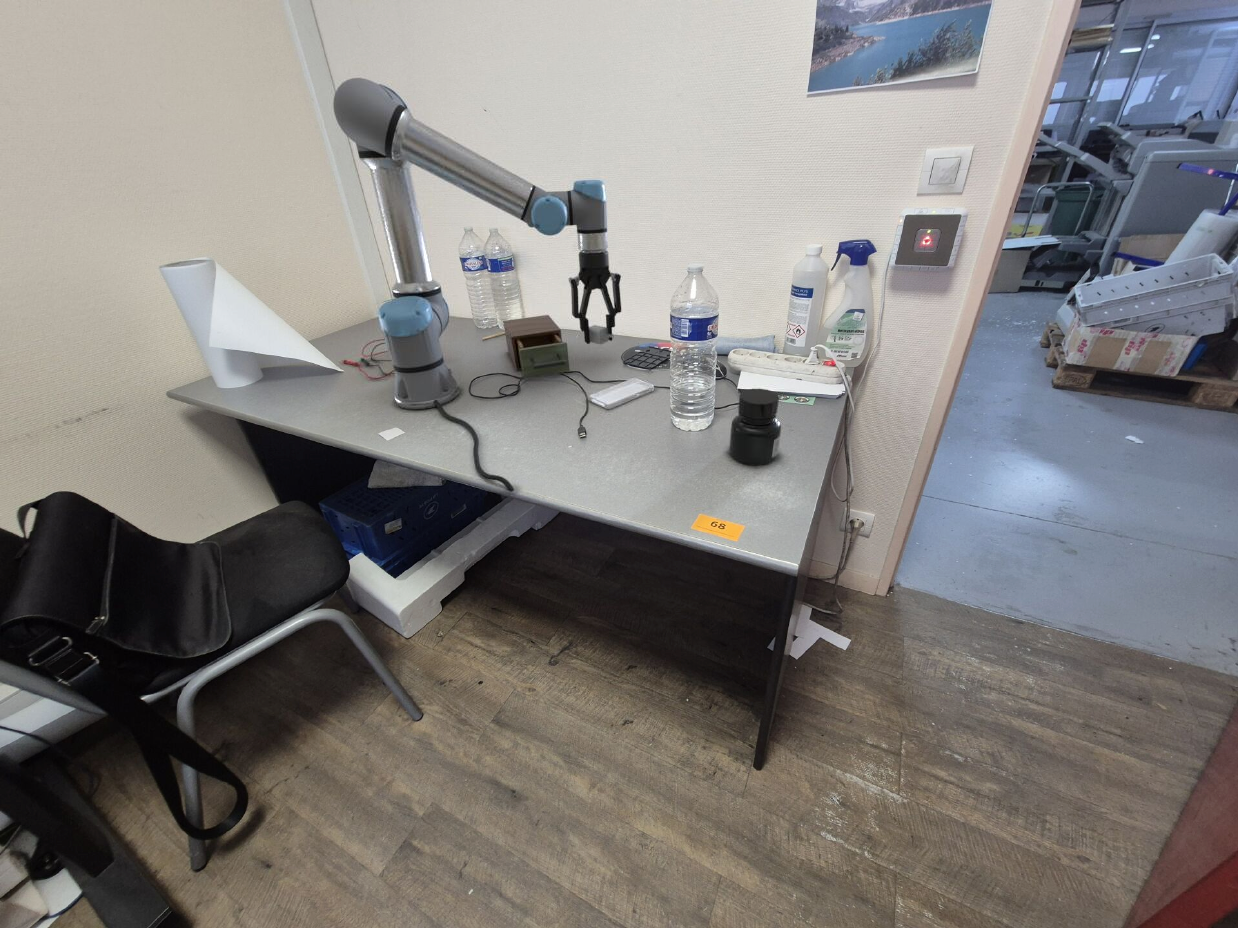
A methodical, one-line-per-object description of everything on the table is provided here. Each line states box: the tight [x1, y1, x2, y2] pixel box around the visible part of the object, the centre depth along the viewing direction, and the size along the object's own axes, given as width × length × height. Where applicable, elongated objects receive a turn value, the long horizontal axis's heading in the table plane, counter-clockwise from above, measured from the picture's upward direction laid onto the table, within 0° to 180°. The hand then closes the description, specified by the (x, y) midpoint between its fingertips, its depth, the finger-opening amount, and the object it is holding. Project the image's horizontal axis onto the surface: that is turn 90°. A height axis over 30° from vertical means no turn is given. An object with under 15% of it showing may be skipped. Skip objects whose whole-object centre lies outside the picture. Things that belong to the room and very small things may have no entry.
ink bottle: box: [729, 388, 782, 466], centre depth 92 cm, size 10×9×12 cm
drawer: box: [515, 333, 571, 380], centre depth 134 cm, size 22×12×8 cm, turn 19°
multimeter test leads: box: [339, 338, 395, 380], centre depth 149 cm, size 23×4×25 cm
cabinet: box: [502, 314, 563, 372], centre depth 145 cm, size 17×14×10 cm
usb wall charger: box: [589, 324, 614, 345], centre depth 137 cm, size 4×7×4 cm, turn 52°
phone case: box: [588, 377, 655, 410], centre depth 121 cm, size 7×1×15 cm
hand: (598, 340), depth 138 cm, fingers closed on usb wall charger, 6 cm apart
